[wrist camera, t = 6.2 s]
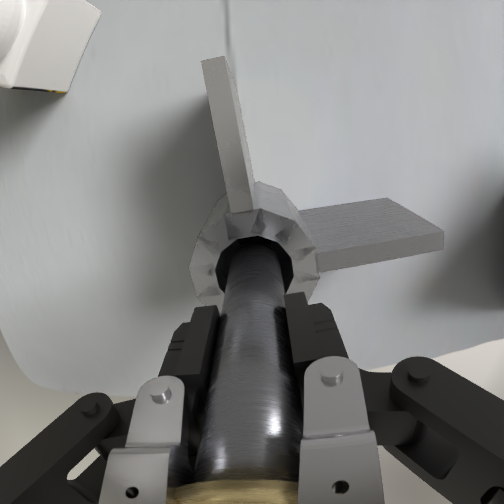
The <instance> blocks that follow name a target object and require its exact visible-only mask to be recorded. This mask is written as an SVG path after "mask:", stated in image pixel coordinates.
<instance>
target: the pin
mask: <svg viewBox="0 0 504 504" xmlns="http://www.w3.org/2000/svg"><path fill="white" fill-rule="evenodd" d="M283 295H285V292H284V286H283V280H282V274H281V268H280V263H279V258H278V255H277V254H276V252H275V251H274V250H273V249H272V248H271V247H270V246H268V245H266V244H264V243H261V242H250V243H246V244H244V245H242V246H240V247H239V248H238V249H237V250H236V251H235V252H234V254H233V256H232V259H231V263H230V268H229V274H228V279H227V284H226V290H225V295H224V301H223V306H222V312H221V317H220V323H219V328H218V334H217V340H216V345H215V351H214V357H213V362H212V368H211V374H210V380H209V386H208V392H207V398H206V404H205V410H204V416H203V422H202V428H201V434H200V440H199V447H198V453H197V459H196V466H195V472H194V479H193V483H192V484H187V485H183V486H180V487H177V488H176V489H175V501H174V504H297V503H298V488H299V469H300V448H301V438H302V437H303V431H304V415H303V408H302V401H301V394H300V389H299V387H298V385H297V383H296V376H295V369H294V362H293V355H292V349H291V342H290V335H289V328H288V322H287V315H286V309H285V302H284V296H283Z"/></svg>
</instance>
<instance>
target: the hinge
mask: <svg viewBox="0 0 504 504" xmlns="http://www.w3.org/2000/svg"><path fill="white" fill-rule="evenodd" d="M201 63H202V69H203V74H204V79H205V84H206V90H207V95H208V100H209V105H210V110H211V116H212V121H213V126H214V131H215V136H216V141H217V146H218V151H219V156H220V161H221V166H222V171H223V176H224V181H225V186H226V191H227V193H226V194H225V195H224V196H223V197H222V198H221V199H219V200H218V201H217V203H216V205H215V207H214V209H213V210H212V212H211V214H210V216H209V217H208V219H207V221H206V223H205V225H204V227H203V228H202V230H201V232H200V234H199V236H198V237H197V238H198V239H197V242H196V245H195V249H194V252H193V255H192V258H191V262H190V265H189V271H190V274H191V278H192V281H193V285H194V288H195V292H196V295H197V296H196V297H197V298H198V299H199V300H200V301H201V302H202V303H203V304H204V305H205V306H211V305H216V306H217V307H218V310H219V313H220V317H221V312H222V306H223V301H224V295H225V290H226V284H227V279H228V274H229V268H230V263H231V259H232V256H233V254H234V252H235V251H236V250H237V249H238V248H239V247H240V245H239V244H238V242H237V241H236V239H240V238H246V237H252V236H261V237H264V238H267V239H270V240H273V241H274V242H273V243H272V244H270V245H269V246H270V247H271V248H272V249H273V250H274V251H275V252H276V254H277V255H278V258H279V263H280V268H281V274H282V280H283V286H284V292H285V294H291V293H298V292H304V293H305V296H306V300H307V303H308V301H309V299H310V297H311V295H312V293H313V291H314V289H315V287H316V285H317V282H318V280H319V279H320V276H319V273H320V272H325V271H331V270H337V269H343V268H348V267H354V266H359V265H365V264H370V263H376V262H381V261H386V260H392V259H397V258H402V257H407V256H412V255H417V254H422V253H427V252H432V251H437V250H442V249H443V247H444V231H443V230H441V229H440V228H438V227H437V226H435V225H433V224H432V223H430V222H428V221H427V220H425V219H423V218H422V217H420V216H418V215H417V214H415V213H413V212H412V211H410V210H408V209H406V208H405V207H403V206H401V205H399V204H398V203H396V202H394V201H392V200H390V199H389V198H383V199H376V200H368V201H361V202H354V203H348V204H341V205H334V206H327V207H321V208H314V209H308V210H302V211H298V210H297V208H296V207H295V206H294V204H293V203H292V202H291V201H290V200H289V198H288V197H287V196H286V195H285V193H284V192H283V191H282V190H281V189H278V188H276V187H273V186H270V185H267V184H265V183H262V182H260V181H258V182H255V181H254V176H253V170H252V165H251V160H250V154H249V149H248V144H247V138H246V133H245V128H244V123H243V117H242V112H241V107H240V102H239V97H238V91H237V86H236V83H235V80H234V78H233V76H232V73H231V71H230V68H229V66H228V63H227V61H226V59H225V56H221V57H216V58H212V59H207V60H203V61H201Z"/></svg>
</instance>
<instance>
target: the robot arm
mask: <svg viewBox="0 0 504 504" xmlns="http://www.w3.org/2000/svg"><path fill="white" fill-rule="evenodd" d="M283 296H284V302H285V309H286V315H287V322H288V328H289V335H290V342H291V349H292V355H293V362H294V369H295V376H296V383H297V385H298V387H299V389H300V394H301V401H302V408H303V415H304V431H303V437H302V438H301V448H300V469H299V488H298V503H297V504H385V502H384V493H383V484H382V476H381V469H380V461H379V454H378V448H377V445H383V447H384V448H385V449H386V450H387V451H388V452H389V453H390V454H392V455H393V456H394V457H395V458H397V459H398V460H399V461H400V462H401V463H402V464H404V465H405V466H406V467H407V468H409V469H410V470H411V471H412V472H413V473H415V474H416V475H417V476H418V477H420V478H421V479H422V480H423V481H425V482H426V483H427V484H428V485H430V486H431V487H432V488H433V489H435V490H436V491H437V492H439V493H440V494H441V495H443V496H444V497H445V498H446V499H448V500H449V501H450V502H452V503H453V504H504V400H502V399H500V398H498V397H497V396H495V395H493V394H491V393H489V392H488V391H486V390H484V389H483V388H481V387H479V386H477V385H476V384H474V383H472V382H471V381H469V380H467V379H465V378H464V377H462V376H460V375H459V374H457V373H455V372H453V371H452V370H450V369H448V368H446V367H445V366H443V365H441V364H440V363H438V362H436V361H434V360H432V359H430V358H426V357H410V358H407V359H404V360H402V361H401V362H399V363H398V364H397V365H396V366H395V367H394V369H393V371H392V373H377V372H368V371H365V370H362V369H360V368H358V366H357V365H356V364H355V363H354V362H353V361H351V360H350V359H349V357H348V355H347V352H346V349H345V346H344V344H343V341H342V338H341V336H340V333H339V330H338V329H337V325H336V322H335V321H334V317H333V314H332V312H331V310H330V309H329V308H328V307H326V306H325V305H324V304H322V303H318V304H312V305H308V303H307V300H306V296H305V293H304V292H298V293H291V294H285V295H283ZM219 323H220V313H219V310H218V307H217V306H216V305H211V306H203V307H196V308H195V309H194V312H193V315H192V318H191V321H190V322H186V323H182V324H181V325H180V326H179V327H178V328H177V330H176V331H175V332H174V334H173V337H172V339H171V343H170V345H169V347H168V351H167V353H166V356H165V358H164V361H163V364H162V367H161V369H160V372H159V375H158V377H156V378H154V379H151V380H149V381H148V382H146V383H145V384H144V385H143V386H142V387H141V388H140V389H139V391H138V394H137V397H136V399H133V400H129V401H125V402H120V403H116V404H113V402H112V401H111V399H110V398H109V397H108V396H107V395H106V394H104V393H98V392H97V393H90V394H87V395H85V396H83V397H81V398H80V399H79V400H78V401H76V402H75V403H74V404H73V405H72V406H71V407H69V408H68V409H67V410H66V411H65V412H64V413H62V414H61V415H60V416H59V417H58V418H57V419H55V420H54V421H53V422H52V423H51V424H50V425H48V426H47V427H46V428H45V429H44V430H43V431H42V432H40V433H39V434H38V435H37V436H36V437H35V438H33V439H32V440H31V441H30V442H29V443H28V444H27V445H25V446H24V447H23V448H22V449H21V450H19V451H18V452H17V453H16V454H15V455H14V456H12V457H11V458H10V459H9V460H8V461H7V462H6V463H4V464H3V465H2V466H1V467H0V504H174V501H175V489H176V488H177V487H180V486H183V485H187V484H192V483H193V479H194V472H195V466H196V459H197V453H198V447H199V440H200V434H201V428H202V422H203V416H204V410H205V404H206V398H207V392H208V386H209V380H210V374H211V368H212V362H213V357H214V351H215V345H216V340H217V334H218V328H219ZM94 448H95V449H96V451H97V452H98V453H99V454H100V456H99V457H98V458H97V459H96V460H95V461H94V462H93V463H92V464H91V465H90V466H89V467H88V468H87V469H86V470H84V471H83V472H82V473H81V474H80V476H78V477H77V478H76V479H74V480H67V474H68V473H69V471H70V470H71V469H72V468H73V467H75V466H76V465H77V464H78V463H79V462H80V461H81V460H82V459H83V458H84V457H85V456H86V455H87V454H88V453H89V452H90V451H91V450H93V449H94Z"/></svg>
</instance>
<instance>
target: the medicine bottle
mask: <svg viewBox="0 0 504 504" xmlns="http://www.w3.org/2000/svg"><path fill="white" fill-rule="evenodd" d="M100 16H101V11H100V10H99V9H97V8H95V7H94V6H92V5H91V4H89V3H88V2H86V1H85V0H0V87H4V88H8V89H22V90H34V91H45V92H55V93H67V92H68V90H69V88H70V85H71V82H72V80H73V77H74V74H75V72H76V69H77V67H78V64H79V62H80V59H81V57H82V55H83V52H84V50H85V48H86V45H87V43H88V41H89V39H90V36H91V34H92V32H93V30H94V28H95V26H96V24H97V22H98V20H99V18H100Z"/></svg>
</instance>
